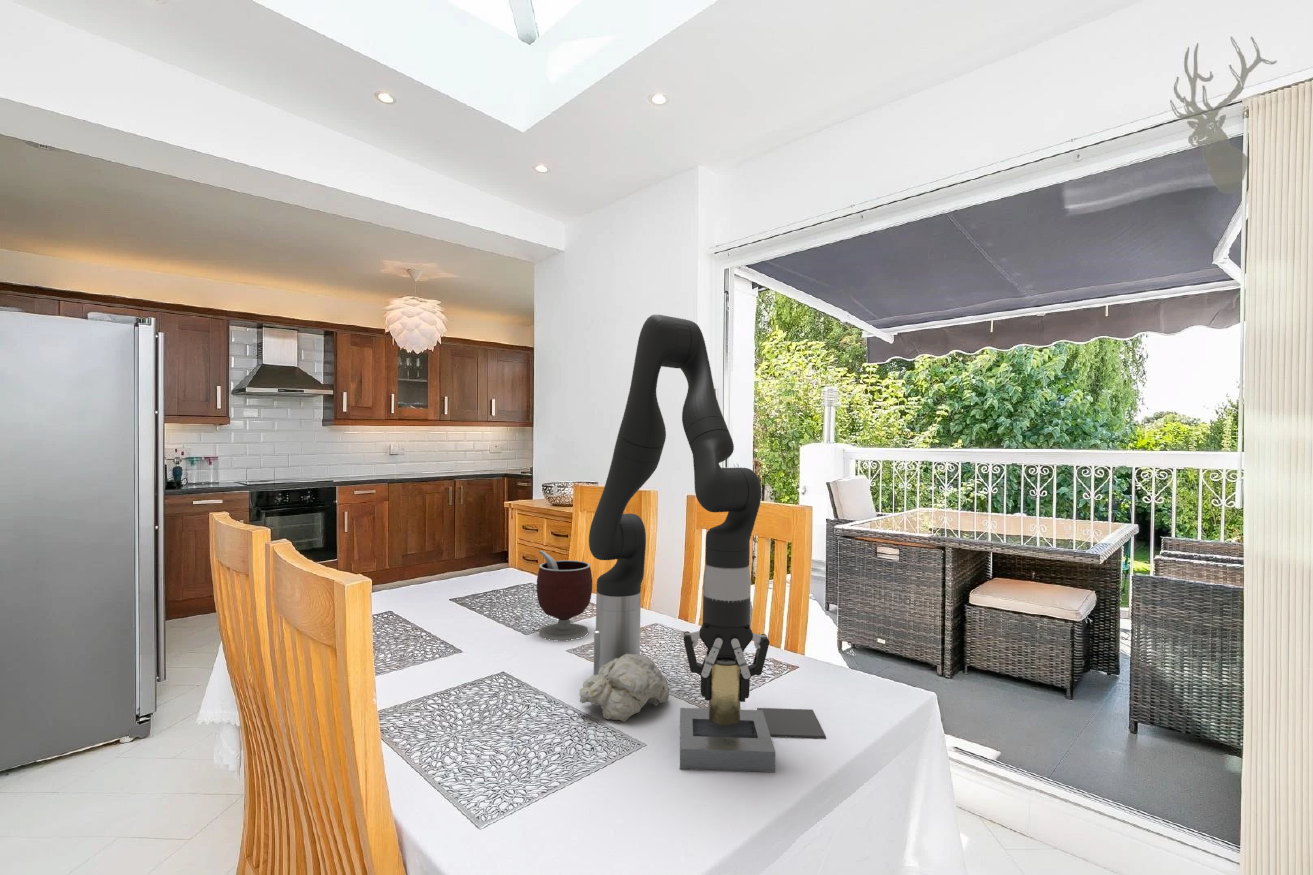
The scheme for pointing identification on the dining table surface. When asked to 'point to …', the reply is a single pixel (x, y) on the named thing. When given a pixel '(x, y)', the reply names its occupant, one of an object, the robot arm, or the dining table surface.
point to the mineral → (625, 686)
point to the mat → (792, 723)
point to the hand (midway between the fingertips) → (724, 698)
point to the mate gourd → (563, 596)
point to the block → (725, 742)
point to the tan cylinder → (725, 691)
